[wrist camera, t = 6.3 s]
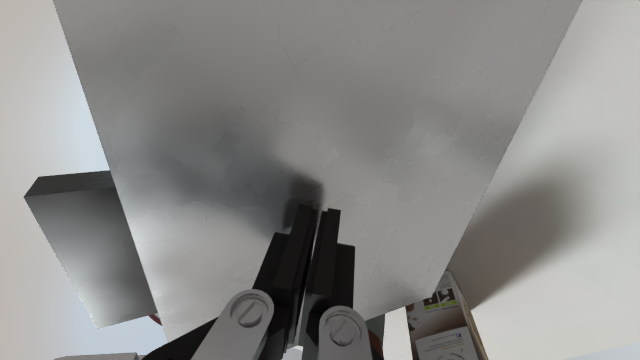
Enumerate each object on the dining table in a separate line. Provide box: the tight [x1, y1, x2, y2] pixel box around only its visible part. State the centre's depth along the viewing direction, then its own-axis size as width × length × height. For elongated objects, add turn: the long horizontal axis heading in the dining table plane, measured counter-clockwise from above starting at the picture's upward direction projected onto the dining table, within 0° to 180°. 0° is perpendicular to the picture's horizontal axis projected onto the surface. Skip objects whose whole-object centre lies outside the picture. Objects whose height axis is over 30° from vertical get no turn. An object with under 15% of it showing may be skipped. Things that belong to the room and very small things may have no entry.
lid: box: [24, 0, 582, 349], centre depth 13 cm, size 19×19×1 cm
